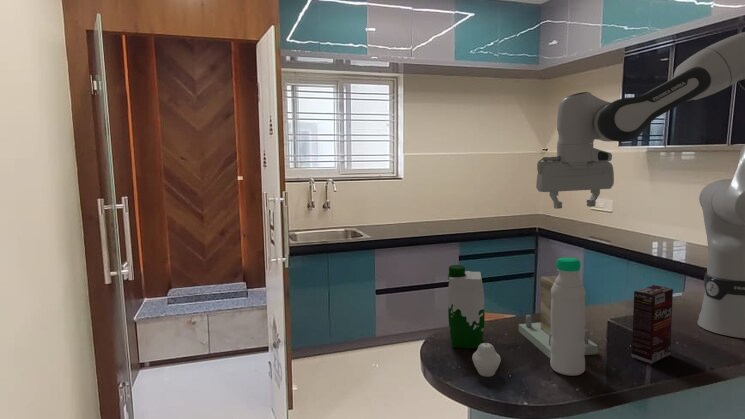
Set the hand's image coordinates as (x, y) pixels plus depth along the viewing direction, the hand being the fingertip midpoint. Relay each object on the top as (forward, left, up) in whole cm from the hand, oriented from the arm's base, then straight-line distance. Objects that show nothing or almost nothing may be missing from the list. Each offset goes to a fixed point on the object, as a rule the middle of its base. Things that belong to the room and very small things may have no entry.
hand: (574, 207), depth 122 cm
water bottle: (+15, +23, -33) cm, 43 cm away
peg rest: (+10, +9, -33) cm, 36 cm away
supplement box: (-7, +21, -33) cm, 40 cm away
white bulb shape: (+33, +22, -33) cm, 52 cm away
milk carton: (+32, +5, -33) cm, 46 cm away
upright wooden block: (+10, +9, -31) cm, 34 cm away
